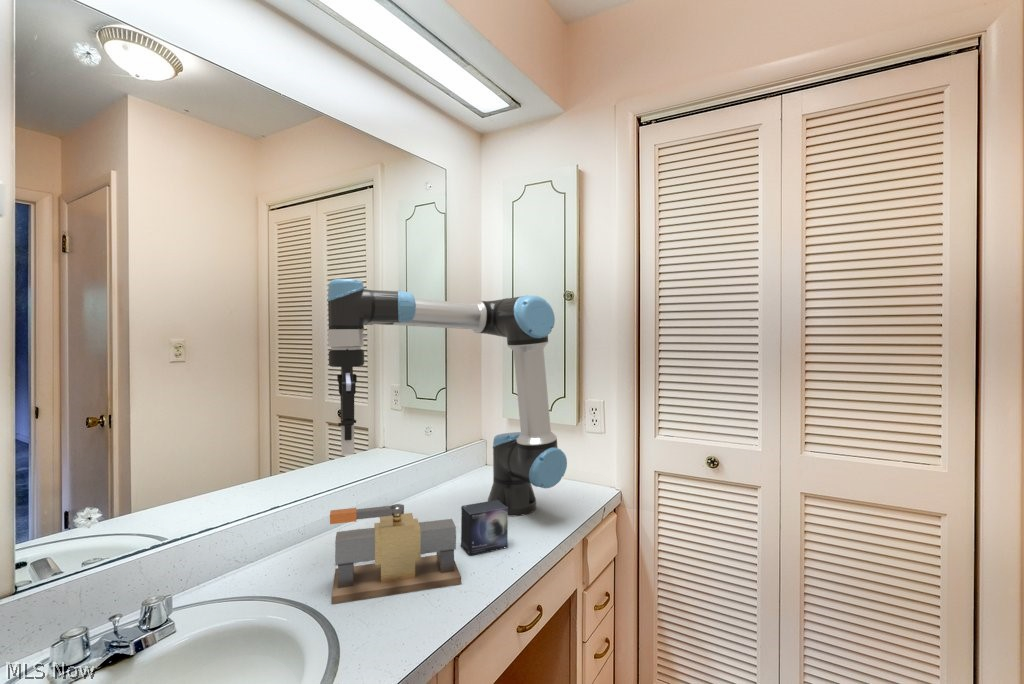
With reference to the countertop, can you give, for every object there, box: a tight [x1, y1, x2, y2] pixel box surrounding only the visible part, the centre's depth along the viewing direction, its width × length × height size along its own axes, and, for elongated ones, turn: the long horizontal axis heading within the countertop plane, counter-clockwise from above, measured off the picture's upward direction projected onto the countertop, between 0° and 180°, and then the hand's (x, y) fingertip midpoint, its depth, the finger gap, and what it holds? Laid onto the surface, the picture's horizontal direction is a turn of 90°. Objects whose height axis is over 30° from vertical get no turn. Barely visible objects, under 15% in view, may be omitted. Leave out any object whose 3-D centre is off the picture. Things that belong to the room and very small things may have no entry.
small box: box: [460, 500, 509, 556], centre depth 119 cm, size 11×6×10 cm, turn 117°
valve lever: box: [329, 503, 405, 525], centre depth 101 cm, size 15×3×2 cm, turn 108°
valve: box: [334, 512, 457, 588], centre depth 103 cm, size 25×7×13 cm, turn 107°
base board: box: [331, 554, 462, 605], centre depth 103 cm, size 26×12×2 cm, turn 107°
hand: (347, 453), depth 107 cm, fingers closed
